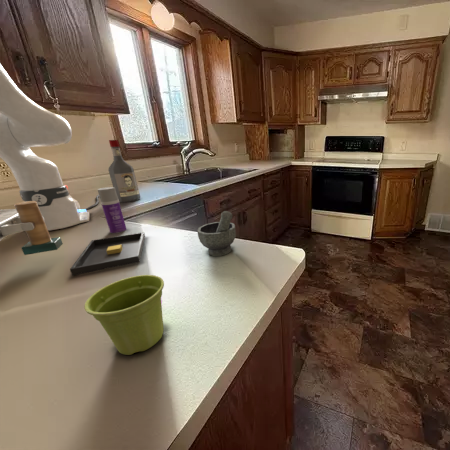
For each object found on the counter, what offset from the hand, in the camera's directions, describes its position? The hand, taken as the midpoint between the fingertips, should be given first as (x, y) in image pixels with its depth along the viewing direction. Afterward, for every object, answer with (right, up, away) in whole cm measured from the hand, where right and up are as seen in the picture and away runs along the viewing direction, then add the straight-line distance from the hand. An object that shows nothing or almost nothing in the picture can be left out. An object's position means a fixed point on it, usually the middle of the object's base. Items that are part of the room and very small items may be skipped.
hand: (38, 222), depth 59 cm
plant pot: (+39, -19, -21) cm, 48 cm away
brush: (-1, -7, +2) cm, 7 cm away
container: (+1, -3, +24) cm, 25 cm away
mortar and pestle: (+42, -8, +8) cm, 43 cm away
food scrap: (+12, -8, +8) cm, 17 cm away
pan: (+13, -9, +8) cm, 17 cm away
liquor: (-27, +12, +70) cm, 76 cm away
